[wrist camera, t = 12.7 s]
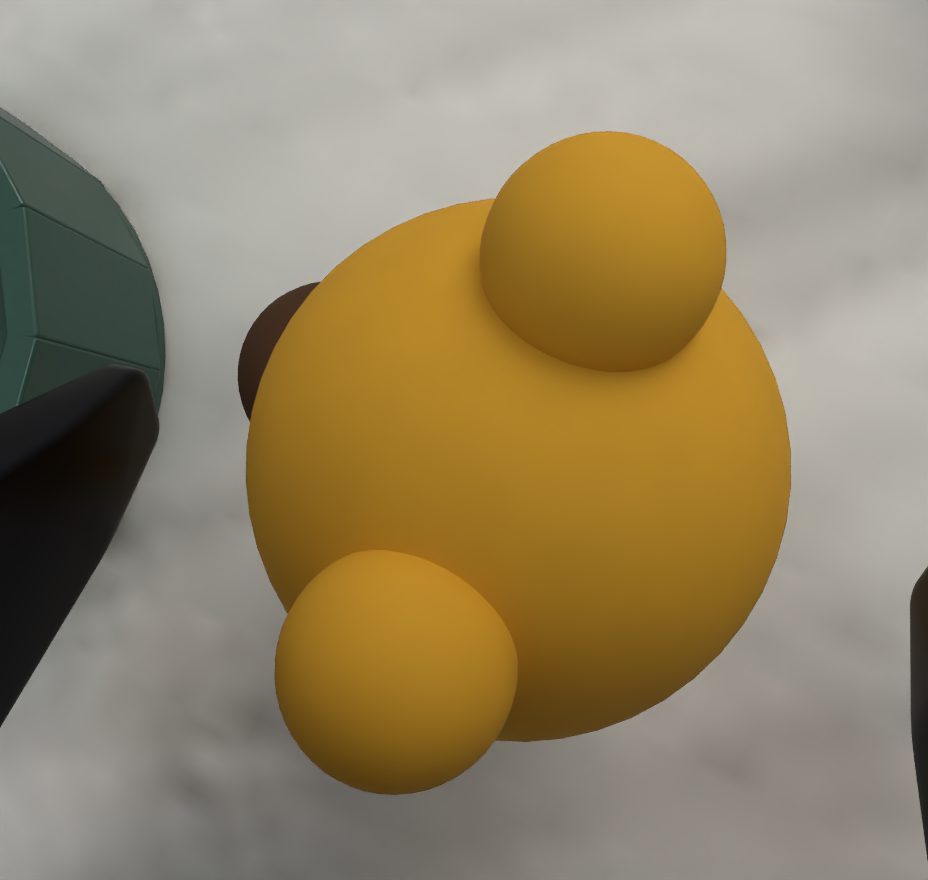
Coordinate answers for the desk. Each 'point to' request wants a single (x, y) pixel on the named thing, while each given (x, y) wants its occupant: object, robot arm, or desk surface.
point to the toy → (512, 467)
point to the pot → (67, 275)
